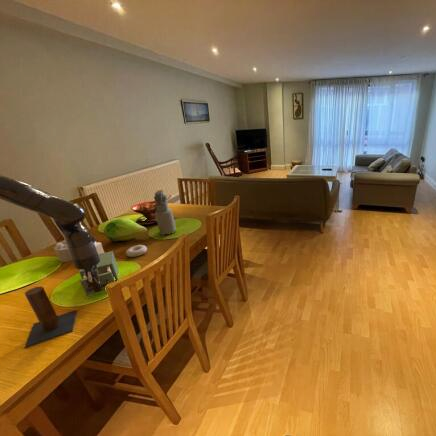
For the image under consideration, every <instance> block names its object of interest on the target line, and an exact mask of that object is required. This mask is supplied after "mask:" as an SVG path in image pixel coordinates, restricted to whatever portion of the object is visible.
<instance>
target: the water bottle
mask: <svg viewBox="0 0 436 436" xmlns="http://www.w3.org/2000/svg"><path fill="white" fill-rule="evenodd" d="M167 198H168V197H167V194H164V190H163V189H159V190H156V191H155V193H154V197H153V199H154V201H155V202H156V205H155V210H156V213H155V215H156V219H157V222H156V223H157V227H158V231H159V234H160V235H162V236H166V235H165V234H169V233H172V232H174V231H175V230H176V231H177V228H176V223H175V219H174V218H175V217H174V214H173V210H172V209H171V208H170V207H169V204H168V200H167ZM156 206H157V209H156ZM176 231H175V232H176ZM175 232H174V233H175ZM172 234H173V233H172ZM169 235H170V234H169Z"/></svg>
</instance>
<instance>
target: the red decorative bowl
mask: <svg viewBox="0 0 436 436" xmlns="http://www.w3.org/2000/svg"><path fill="white" fill-rule="evenodd" d="M171 197H172V196H171V195H169V196H168V197H167V201H169V200H170V198H171ZM155 205H156V202H155V200H150V201H145V202H140V203H137V204H134V205H132V206H131V208H130V210H132V211H133V212H134V213H137V214H140V215H142V216H139V217H138V218H136V221H134V222H135V223H137V224H139V225H149V224H154V223H157V219H156V215H155V213H156V210H155ZM156 209H157V206H156ZM145 218H147V219H146V220H145V221H142V220H143V219H145Z"/></svg>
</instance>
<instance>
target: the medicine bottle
mask: <svg viewBox="0 0 436 436" xmlns="http://www.w3.org/2000/svg"><path fill="white" fill-rule="evenodd" d="M90 236H91V239H92V241H93V243H94V245H95V247H96V250H97V253H98V254H102V253H105V250H104V247H103V245H102V242H99V241H98V242H97V241H96V238H95V236H94V235H91V234H90Z"/></svg>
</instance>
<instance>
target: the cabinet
mask: <svg viewBox="0 0 436 436" xmlns="http://www.w3.org/2000/svg"><path fill="white" fill-rule="evenodd" d="M98 255H99V258H100V262H99V263H98V264H97V267H98V269H99V268H103V267H107V266H110V265H111V267H112V270H113V273H114V277H115V279H116V280H118V281H119V266H118V262H117V260H116V257H115V253H114V251H113V250H110V251H106V252H104V253H102V254H98ZM83 272H85V271H84V270H82V269H81V270H80V269H79V271H78V273H79V275H80V277H81V280H82V279H83V277H84V273H83ZM116 280H115V281H116ZM116 282H117V281H116Z"/></svg>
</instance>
